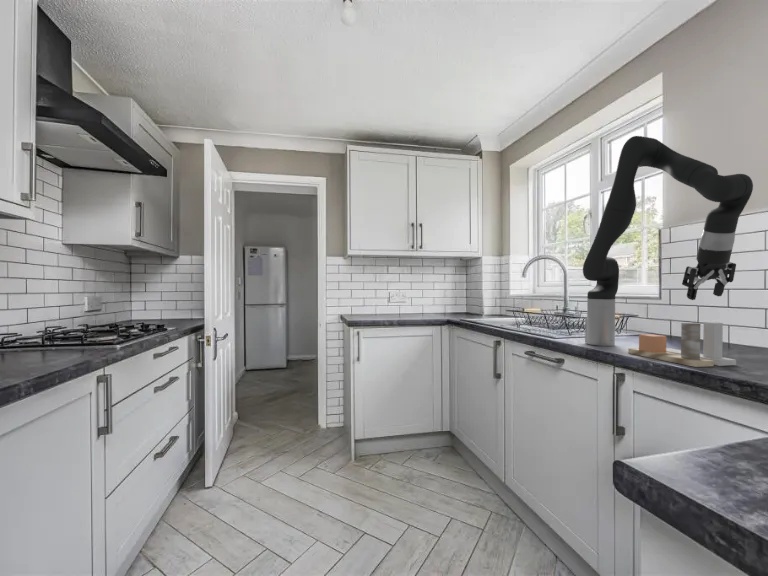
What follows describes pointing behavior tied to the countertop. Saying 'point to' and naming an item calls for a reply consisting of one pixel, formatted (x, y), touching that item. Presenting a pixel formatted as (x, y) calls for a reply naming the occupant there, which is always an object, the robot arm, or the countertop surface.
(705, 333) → the grey upright bracket
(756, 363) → the countertop surface
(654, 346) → the terracotta cube
